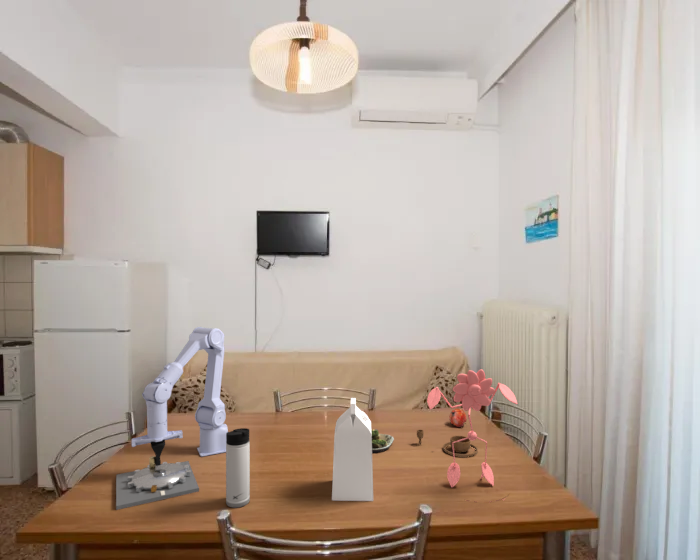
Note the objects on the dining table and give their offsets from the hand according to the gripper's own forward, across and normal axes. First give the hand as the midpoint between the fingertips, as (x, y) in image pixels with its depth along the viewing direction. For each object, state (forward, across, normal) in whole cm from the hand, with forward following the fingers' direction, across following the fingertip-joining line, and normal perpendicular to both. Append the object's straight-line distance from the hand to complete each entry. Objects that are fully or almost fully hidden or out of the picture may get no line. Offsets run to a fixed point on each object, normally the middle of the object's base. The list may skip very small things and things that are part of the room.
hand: (158, 464), depth 135 cm
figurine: (+4, +80, -55) cm, 97 cm away
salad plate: (+5, +71, -10) cm, 72 cm away
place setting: (+5, +95, -27) cm, 99 cm away
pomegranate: (+5, +114, -11) cm, 115 cm away
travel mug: (+3, +18, -29) cm, 34 cm away
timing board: (+3, -1, -7) cm, 8 cm away
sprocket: (+2, 0, -6) cm, 6 cm away
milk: (+4, +49, -38) cm, 62 cm away
